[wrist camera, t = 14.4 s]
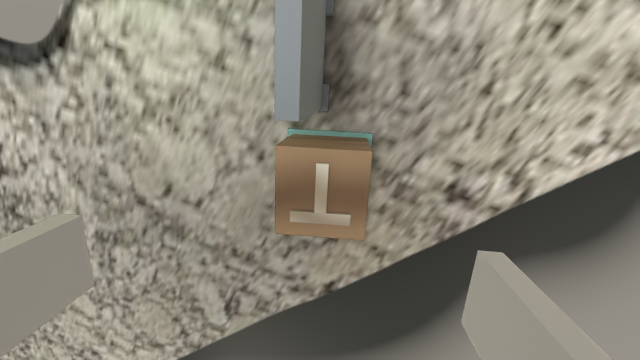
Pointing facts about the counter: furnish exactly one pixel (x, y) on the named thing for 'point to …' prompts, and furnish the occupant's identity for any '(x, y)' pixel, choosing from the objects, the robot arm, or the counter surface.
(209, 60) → the counter surface
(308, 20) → the screen
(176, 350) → the counter surface
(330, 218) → the cube
